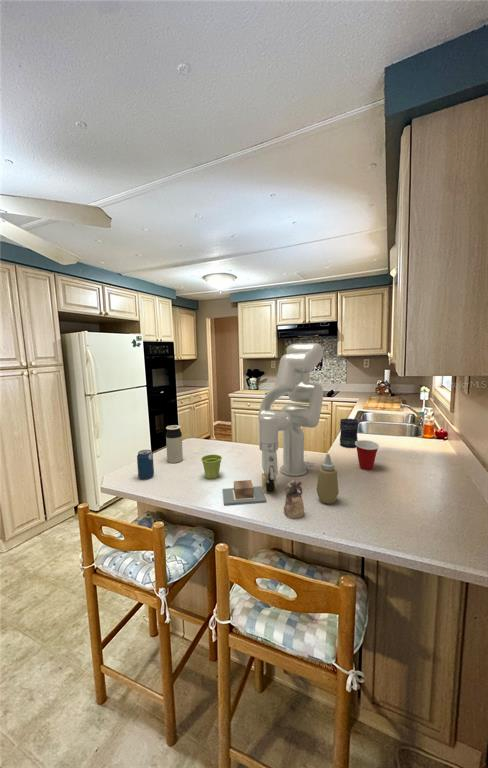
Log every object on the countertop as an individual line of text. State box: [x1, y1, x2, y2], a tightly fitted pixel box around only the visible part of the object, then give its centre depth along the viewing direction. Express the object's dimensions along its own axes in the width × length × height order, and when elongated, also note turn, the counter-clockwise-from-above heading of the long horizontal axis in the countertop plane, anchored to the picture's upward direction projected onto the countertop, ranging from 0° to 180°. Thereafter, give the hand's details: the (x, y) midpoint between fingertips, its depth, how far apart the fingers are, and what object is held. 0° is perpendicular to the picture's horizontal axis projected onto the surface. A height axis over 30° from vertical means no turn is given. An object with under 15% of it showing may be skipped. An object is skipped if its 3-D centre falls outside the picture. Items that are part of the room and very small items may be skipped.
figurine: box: [283, 480, 305, 520], centre depth 108 cm, size 7×7×12 cm
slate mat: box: [222, 485, 267, 506], centre depth 121 cm, size 16×12×1 cm
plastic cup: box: [355, 439, 380, 471], centre depth 146 cm, size 11×11×12 cm
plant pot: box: [200, 454, 223, 480], centre depth 140 cm, size 9×9×9 cm
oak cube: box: [261, 473, 277, 494], centre depth 126 cm, size 5×5×6 cm
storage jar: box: [339, 418, 359, 449], centre depth 179 cm, size 10×10×15 cm
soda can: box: [136, 449, 155, 480], centre depth 141 cm, size 7×7×12 cm
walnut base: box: [233, 479, 254, 499], centre depth 121 cm, size 7×7×4 cm
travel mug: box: [165, 424, 184, 464], centre depth 160 cm, size 8×8×18 cm
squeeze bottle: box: [316, 453, 340, 505], centre depth 116 cm, size 8×8×18 cm
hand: (269, 487), depth 126 cm, fingers closed on oak cube, 5 cm apart
